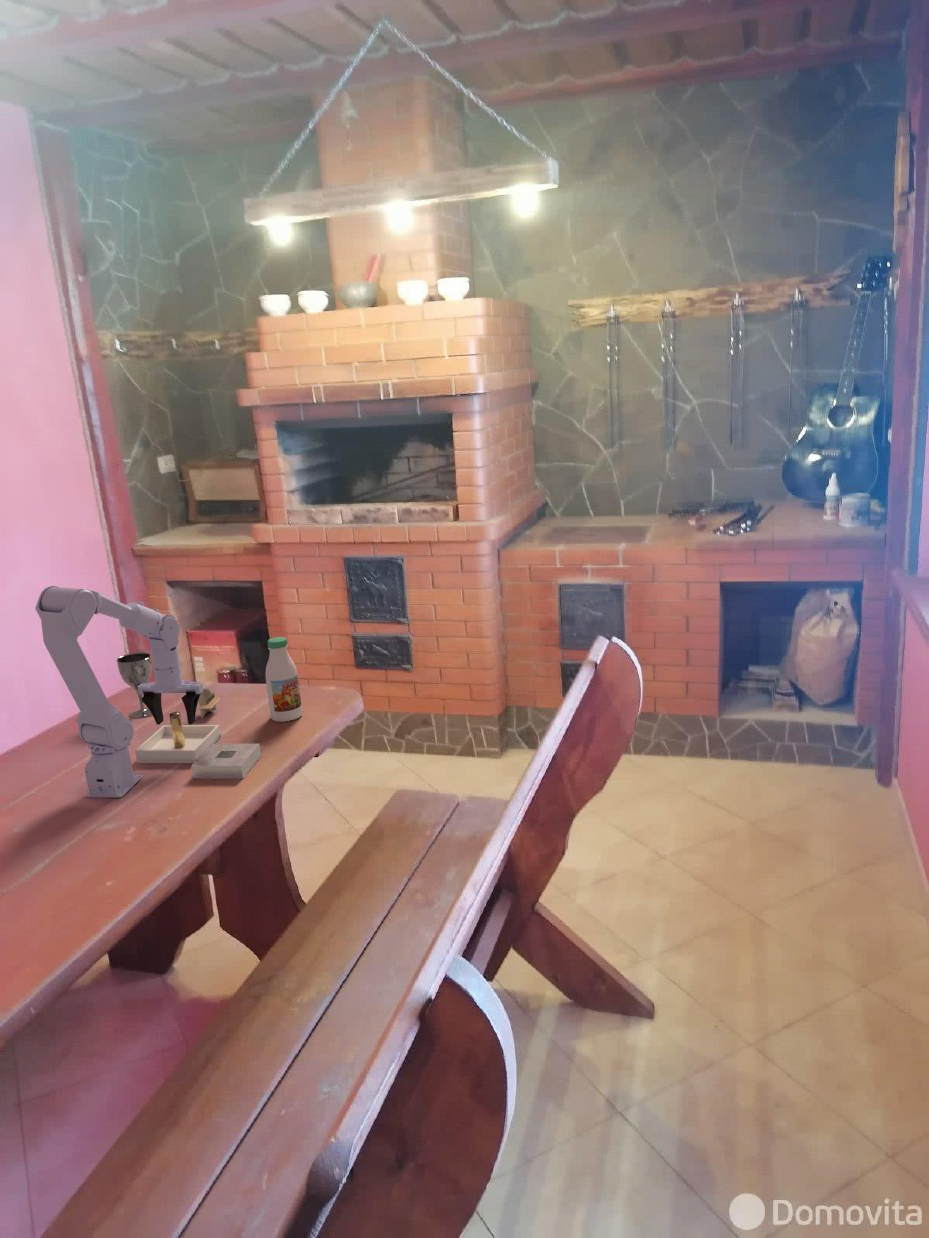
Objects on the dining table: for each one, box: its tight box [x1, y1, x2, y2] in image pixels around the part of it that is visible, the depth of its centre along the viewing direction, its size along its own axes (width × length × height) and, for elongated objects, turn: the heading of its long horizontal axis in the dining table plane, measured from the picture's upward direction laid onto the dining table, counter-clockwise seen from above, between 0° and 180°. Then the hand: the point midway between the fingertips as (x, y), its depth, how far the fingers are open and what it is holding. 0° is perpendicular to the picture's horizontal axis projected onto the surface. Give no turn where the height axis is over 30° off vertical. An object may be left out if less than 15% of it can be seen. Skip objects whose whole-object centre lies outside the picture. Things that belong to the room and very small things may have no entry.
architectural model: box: [198, 683, 221, 719], centre depth 225 cm, size 3×7×7 cm, turn 176°
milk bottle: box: [265, 636, 303, 723], centre depth 218 cm, size 8×8×20 cm
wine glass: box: [116, 651, 153, 720], centre depth 227 cm, size 8×8×15 cm
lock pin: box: [168, 711, 185, 749], centre depth 204 cm, size 2×2×8 cm
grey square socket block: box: [191, 743, 262, 780], centre depth 194 cm, size 11×11×3 cm
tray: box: [134, 724, 222, 764], centre depth 205 cm, size 14×14×3 cm
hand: (176, 722), depth 203 cm, fingers open, 7 cm apart
